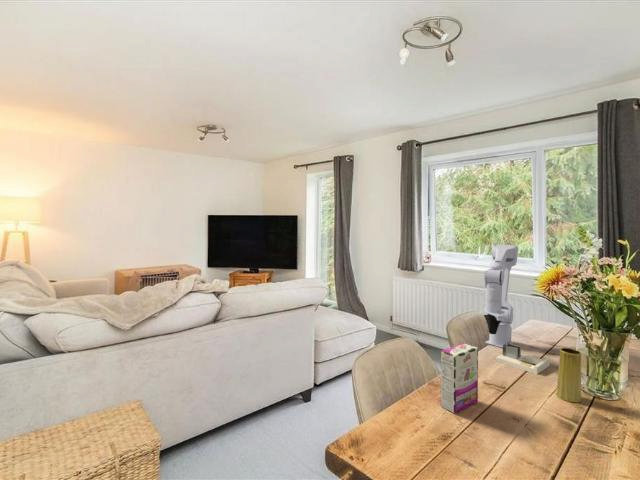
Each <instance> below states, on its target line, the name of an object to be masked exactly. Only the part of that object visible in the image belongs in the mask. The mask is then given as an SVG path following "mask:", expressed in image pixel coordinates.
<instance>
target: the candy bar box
mask: <svg viewBox="0 0 640 480" xmlns="http://www.w3.org/2000/svg"><path fill="white" fill-rule="evenodd" d="M478 383H479V347H477V346H474V345H472V344H471V345H470V344H468V343H462V344H458V345H455V346H451V347H449V348H446V349H443V350H440V407H441V408H443V409H444V410H447V411H448V412H450V413H452V414H454V415H456V414H458V413H460V412H462V411H464V410H466V409H468V408H470V407H471V406H473V405H475V404H478V401H479V400H478V398H479V396H478V394H479V386H478V385H479V384H478Z"/></svg>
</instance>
